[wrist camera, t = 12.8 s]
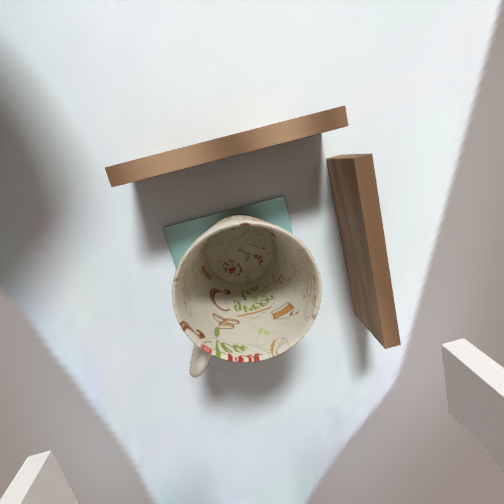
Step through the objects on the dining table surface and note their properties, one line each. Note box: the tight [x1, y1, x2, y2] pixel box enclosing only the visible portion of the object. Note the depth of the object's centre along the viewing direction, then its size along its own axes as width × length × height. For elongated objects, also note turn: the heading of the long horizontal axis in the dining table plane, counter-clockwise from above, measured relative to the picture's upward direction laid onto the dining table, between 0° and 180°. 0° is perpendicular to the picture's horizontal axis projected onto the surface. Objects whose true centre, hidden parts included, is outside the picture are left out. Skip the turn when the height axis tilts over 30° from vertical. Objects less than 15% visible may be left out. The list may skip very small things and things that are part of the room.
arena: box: [105, 106, 401, 349], centre depth 26 cm, size 16×17×6 cm
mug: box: [172, 215, 322, 377], centre depth 25 cm, size 8×13×10 cm, turn 156°
